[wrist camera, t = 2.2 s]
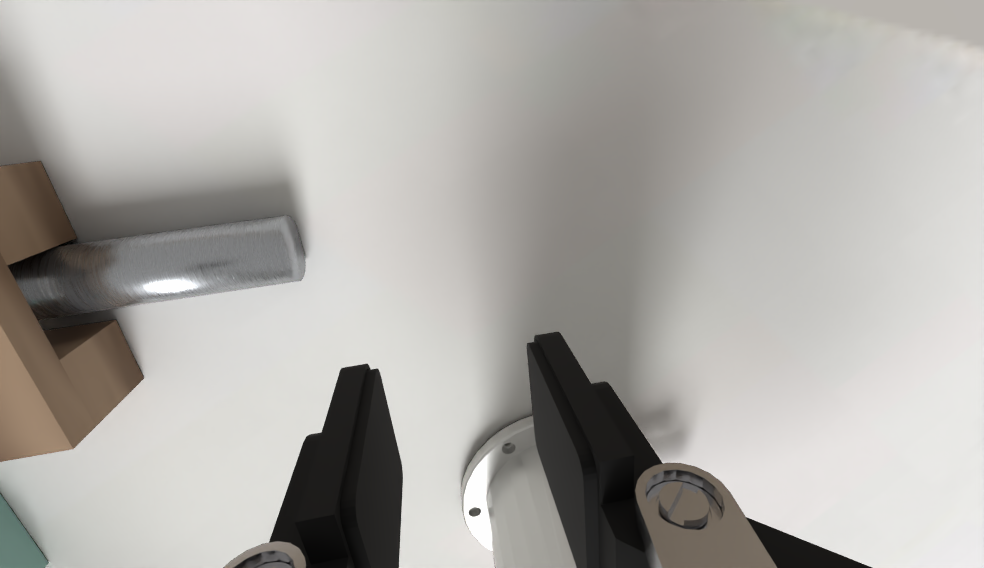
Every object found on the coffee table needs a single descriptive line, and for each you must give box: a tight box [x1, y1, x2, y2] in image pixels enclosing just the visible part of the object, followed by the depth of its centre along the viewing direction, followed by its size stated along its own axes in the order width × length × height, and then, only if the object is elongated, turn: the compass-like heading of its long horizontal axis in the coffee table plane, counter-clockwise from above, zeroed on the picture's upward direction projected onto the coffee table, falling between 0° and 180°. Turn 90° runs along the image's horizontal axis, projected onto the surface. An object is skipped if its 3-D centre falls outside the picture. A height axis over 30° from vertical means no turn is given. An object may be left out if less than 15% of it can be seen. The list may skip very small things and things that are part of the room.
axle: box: [7, 215, 305, 320], centre depth 21 cm, size 14×3×3 cm, turn 96°
